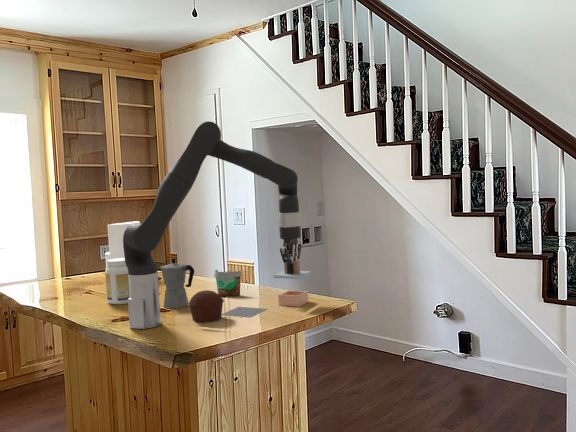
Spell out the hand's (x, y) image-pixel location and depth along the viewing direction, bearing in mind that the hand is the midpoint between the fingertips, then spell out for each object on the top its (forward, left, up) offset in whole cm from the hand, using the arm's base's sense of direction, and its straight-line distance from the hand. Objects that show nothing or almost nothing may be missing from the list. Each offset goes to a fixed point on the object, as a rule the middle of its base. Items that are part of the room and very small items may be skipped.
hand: (292, 273), depth 197 cm
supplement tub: (-11, +70, -12) cm, 72 cm away
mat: (-16, +11, -12) cm, 23 cm away
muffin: (-28, +18, -12) cm, 35 cm away
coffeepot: (-12, +42, -12) cm, 45 cm away
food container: (+8, +34, -12) cm, 37 cm away
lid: (0, 0, -1) cm, 1 cm away
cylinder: (+29, +106, -12) cm, 110 cm away
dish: (0, 0, -12) cm, 12 cm away
